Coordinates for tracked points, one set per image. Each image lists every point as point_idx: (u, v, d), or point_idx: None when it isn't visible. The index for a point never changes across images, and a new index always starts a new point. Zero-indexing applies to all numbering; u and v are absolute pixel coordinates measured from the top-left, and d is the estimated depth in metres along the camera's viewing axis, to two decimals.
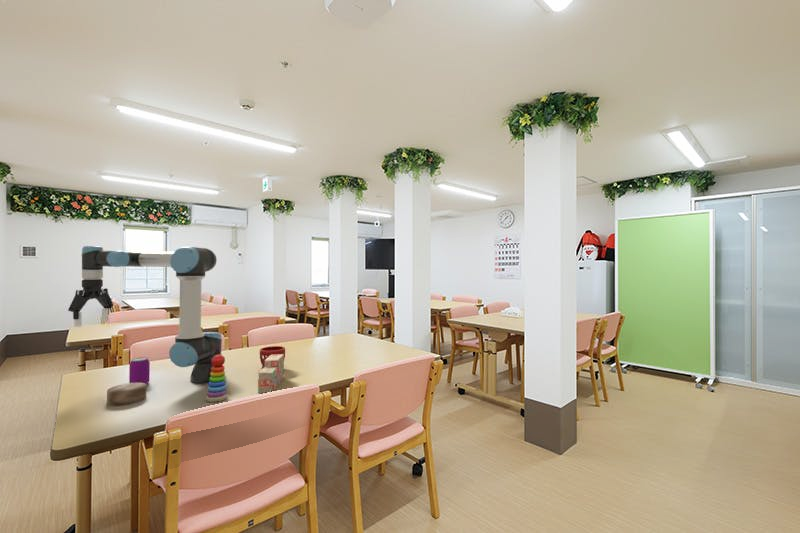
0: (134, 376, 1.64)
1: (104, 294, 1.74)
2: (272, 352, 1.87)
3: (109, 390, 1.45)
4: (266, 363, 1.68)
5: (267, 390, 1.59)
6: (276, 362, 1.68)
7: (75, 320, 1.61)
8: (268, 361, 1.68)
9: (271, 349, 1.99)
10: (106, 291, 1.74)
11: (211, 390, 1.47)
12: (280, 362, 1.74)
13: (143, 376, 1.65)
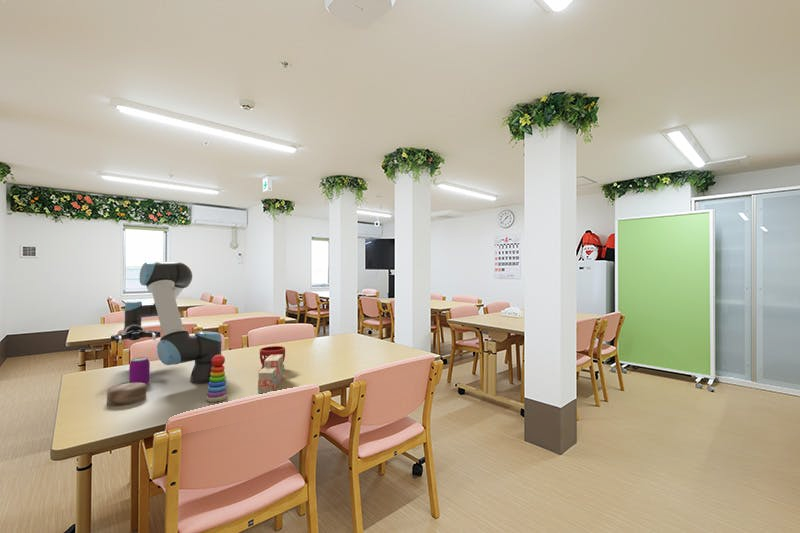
0: (134, 376, 1.64)
1: None
2: (272, 352, 1.87)
3: (109, 390, 1.45)
4: (266, 363, 1.67)
5: (267, 390, 1.59)
6: (276, 362, 1.68)
7: (119, 341, 1.72)
8: (268, 361, 1.67)
9: (271, 349, 1.99)
10: (149, 330, 1.90)
11: (211, 390, 1.47)
12: (280, 362, 1.74)
13: (143, 376, 1.65)
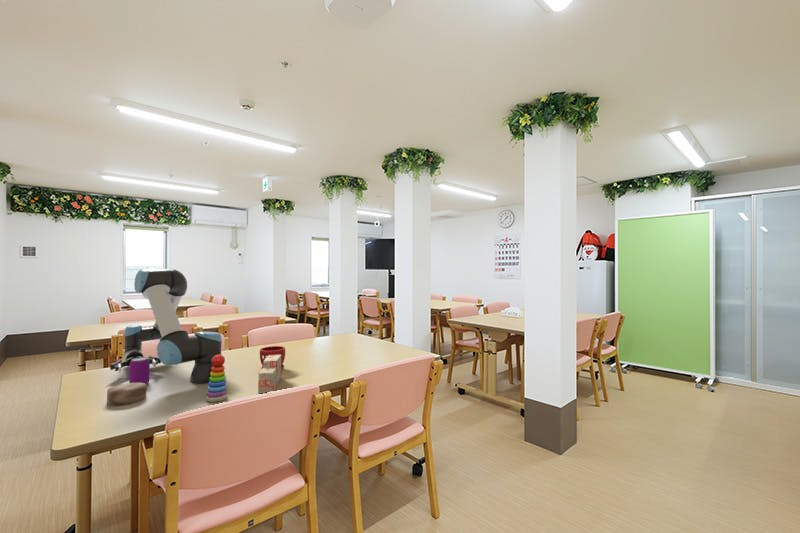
0: (134, 376, 1.64)
1: None
2: (272, 352, 1.87)
3: (109, 390, 1.45)
4: (265, 364, 1.67)
5: (268, 391, 1.58)
6: (275, 362, 1.68)
7: (118, 370, 1.69)
8: (267, 362, 1.67)
9: (271, 349, 1.99)
10: (150, 356, 1.87)
11: (211, 390, 1.47)
12: (278, 362, 1.73)
13: (143, 376, 1.65)
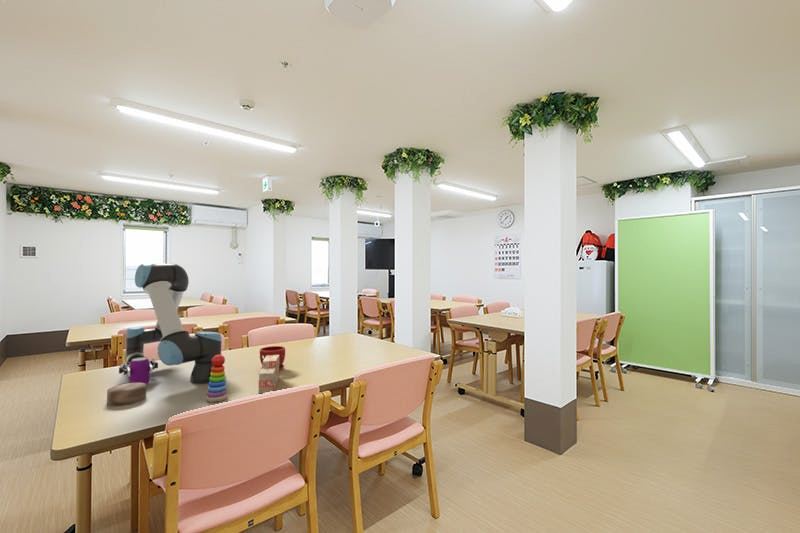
0: (134, 376, 1.64)
1: (151, 363, 1.78)
2: (272, 352, 1.87)
3: (109, 390, 1.45)
4: (264, 364, 1.66)
5: (268, 391, 1.58)
6: (274, 363, 1.67)
7: (127, 373, 1.63)
8: (266, 362, 1.66)
9: (271, 349, 1.99)
10: (152, 360, 1.79)
11: (211, 390, 1.47)
12: (277, 363, 1.73)
13: (143, 376, 1.65)
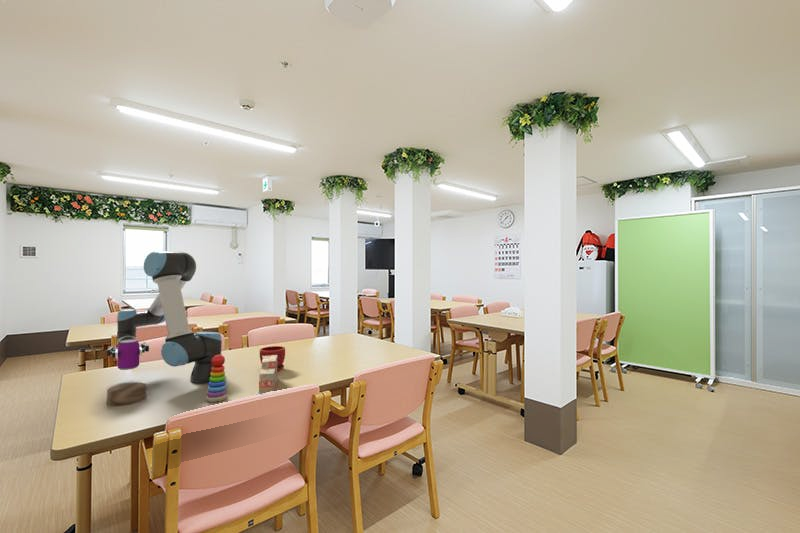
0: (122, 359, 1.53)
1: None
2: (272, 352, 1.87)
3: (109, 390, 1.45)
4: (263, 364, 1.65)
5: (269, 391, 1.58)
6: (274, 363, 1.67)
7: (115, 356, 1.52)
8: (265, 362, 1.66)
9: (271, 349, 1.99)
10: (143, 343, 1.68)
11: (211, 390, 1.47)
12: (276, 363, 1.73)
13: (132, 359, 1.54)
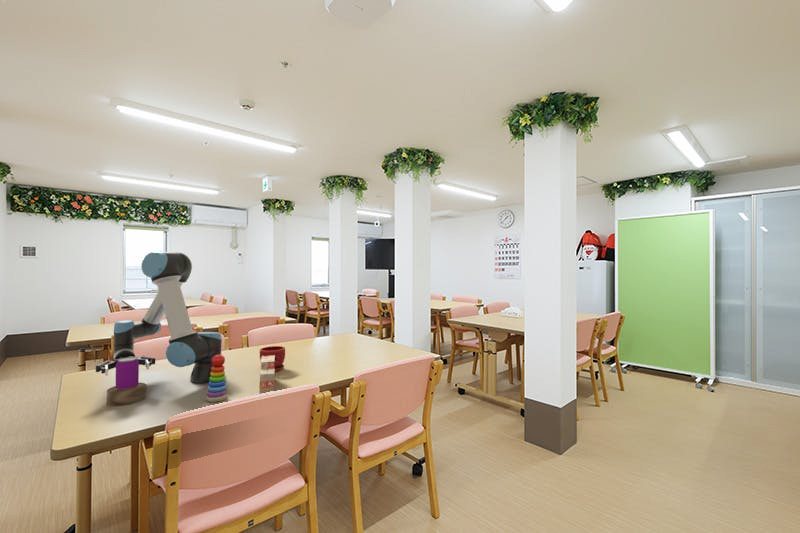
0: (120, 378, 1.45)
1: None
2: (272, 352, 1.87)
3: (109, 390, 1.45)
4: (262, 365, 1.65)
5: None
6: (273, 363, 1.66)
7: (105, 372, 1.43)
8: (265, 363, 1.65)
9: (271, 349, 1.99)
10: (143, 356, 1.61)
11: (211, 390, 1.47)
12: None
13: (131, 378, 1.47)
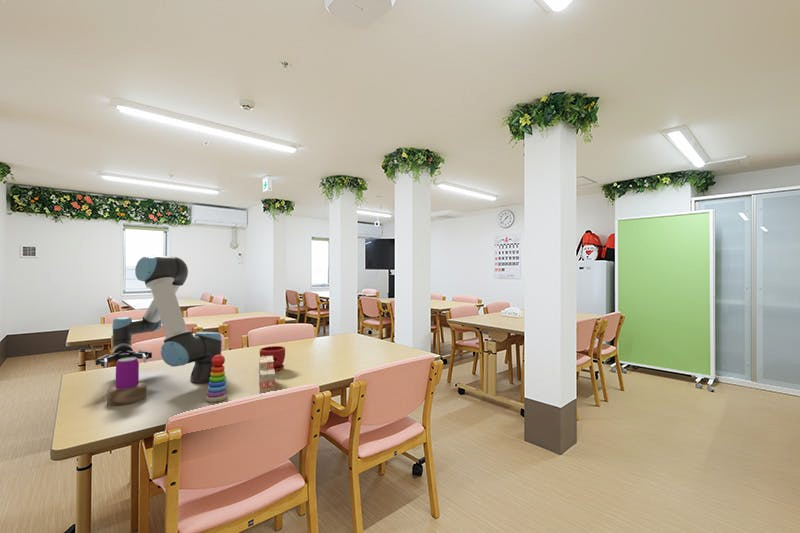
0: (120, 378, 1.45)
1: None
2: (272, 352, 1.87)
3: (109, 390, 1.45)
4: (262, 365, 1.64)
5: None
6: (272, 363, 1.66)
7: (104, 365, 1.53)
8: (264, 363, 1.64)
9: (271, 349, 1.99)
10: (140, 350, 1.71)
11: (211, 390, 1.47)
12: None
13: (131, 378, 1.47)
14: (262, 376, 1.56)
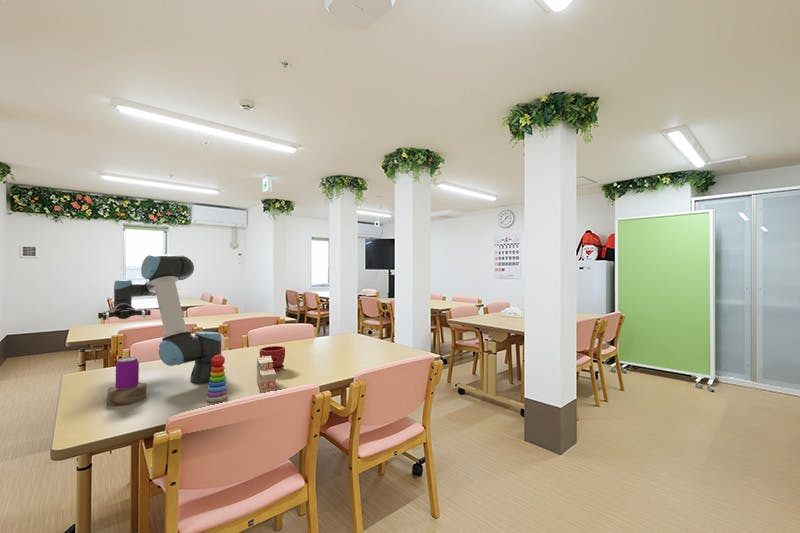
0: (120, 378, 1.45)
1: None
2: (272, 352, 1.87)
3: (109, 390, 1.45)
4: (261, 366, 1.63)
5: None
6: (272, 364, 1.66)
7: (106, 318, 1.65)
8: (263, 363, 1.64)
9: (271, 349, 1.99)
10: (139, 309, 1.83)
11: (211, 390, 1.47)
12: None
13: (131, 378, 1.47)
14: (263, 376, 1.55)
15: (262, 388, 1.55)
